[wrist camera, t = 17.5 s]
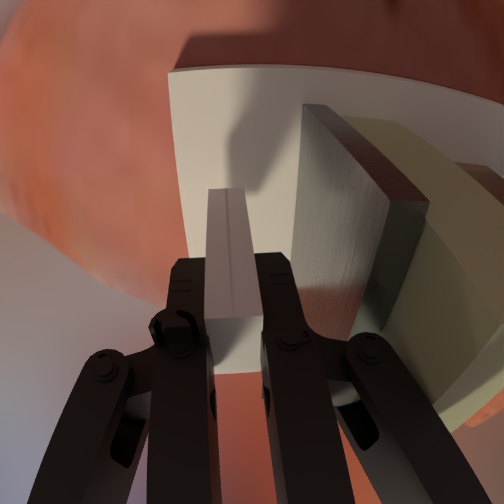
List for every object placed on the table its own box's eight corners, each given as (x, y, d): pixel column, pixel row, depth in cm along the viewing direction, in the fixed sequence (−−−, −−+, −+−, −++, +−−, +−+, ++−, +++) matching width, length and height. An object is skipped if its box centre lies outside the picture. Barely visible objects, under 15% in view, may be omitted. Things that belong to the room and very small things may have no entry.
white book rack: (173, 68, 12) (125, 106, 6) (545, 121, 13) (619, 174, 8) (196, 275, 20) (191, 386, 14) (497, 254, 21) (544, 319, 15)
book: (324, 114, 12) (501, 324, 4) (396, 121, 13) (580, 294, 4) (308, 261, 17) (367, 462, 9) (366, 257, 18) (445, 436, 9)
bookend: (302, 103, 12) (390, 201, 6) (325, 104, 12) (430, 201, 6) (289, 270, 18) (320, 404, 11) (307, 268, 18) (344, 401, 12)
